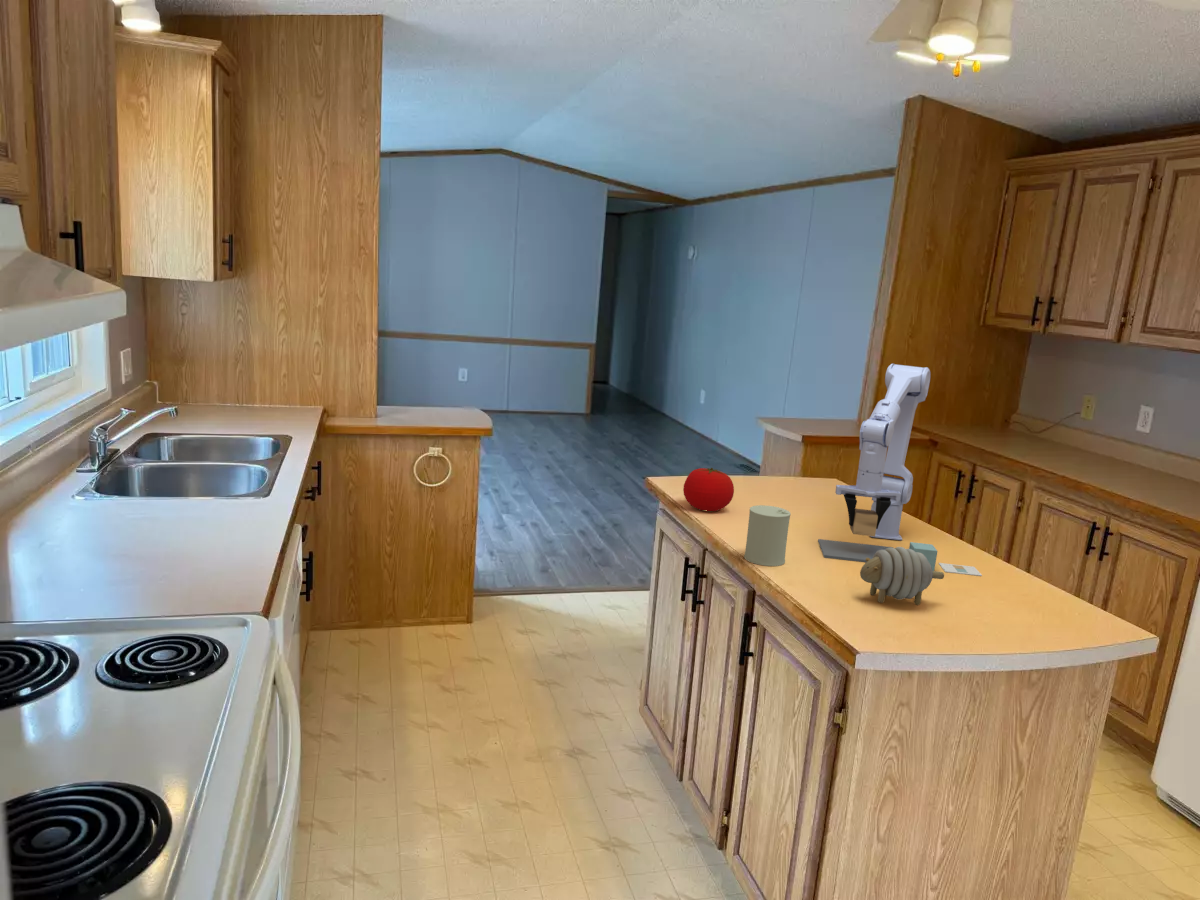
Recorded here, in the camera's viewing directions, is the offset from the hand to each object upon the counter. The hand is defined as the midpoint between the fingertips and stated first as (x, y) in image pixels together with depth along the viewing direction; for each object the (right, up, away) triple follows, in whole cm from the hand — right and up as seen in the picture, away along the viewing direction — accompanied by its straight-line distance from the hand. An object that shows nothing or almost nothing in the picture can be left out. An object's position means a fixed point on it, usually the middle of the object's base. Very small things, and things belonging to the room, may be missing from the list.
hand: (863, 526), depth 198 cm
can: (-25, -7, -8) cm, 27 cm away
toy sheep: (-2, -13, -28) cm, 31 cm away
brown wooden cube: (0, -1, 0) cm, 1 cm away
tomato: (-33, +2, +31) cm, 46 cm away
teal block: (+12, -9, -5) cm, 16 cm away
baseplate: (0, -7, +1) cm, 7 cm away
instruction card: (+21, -10, -5) cm, 23 cm away
